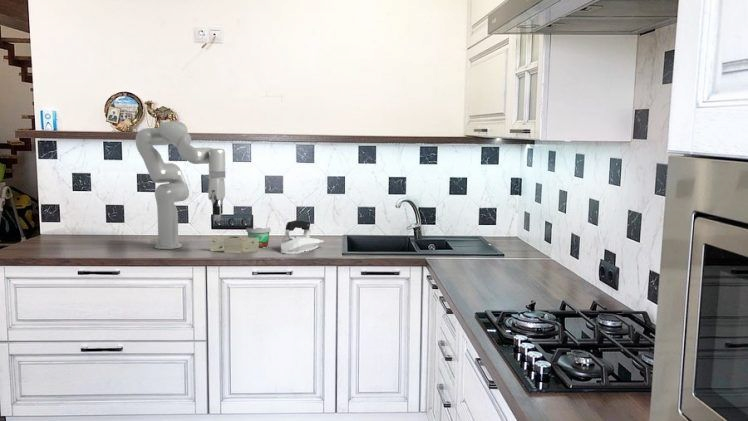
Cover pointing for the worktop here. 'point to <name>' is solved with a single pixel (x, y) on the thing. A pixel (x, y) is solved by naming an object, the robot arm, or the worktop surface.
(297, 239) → the iron
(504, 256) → the worktop surface
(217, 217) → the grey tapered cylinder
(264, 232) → the food container
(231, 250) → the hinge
